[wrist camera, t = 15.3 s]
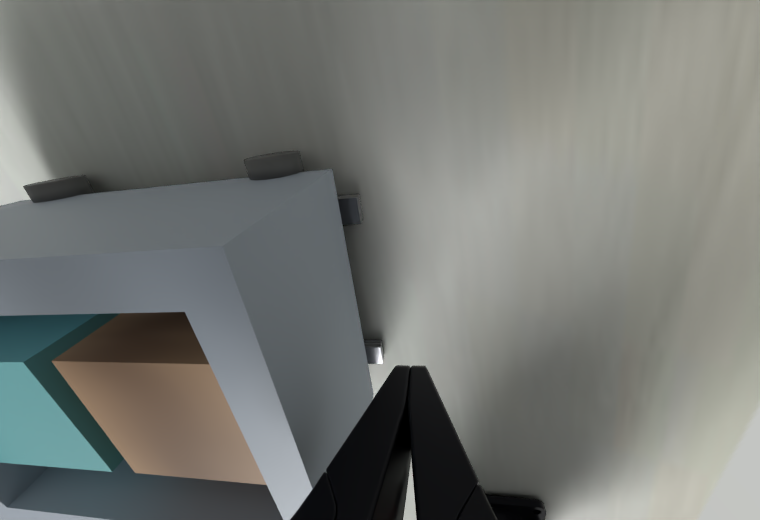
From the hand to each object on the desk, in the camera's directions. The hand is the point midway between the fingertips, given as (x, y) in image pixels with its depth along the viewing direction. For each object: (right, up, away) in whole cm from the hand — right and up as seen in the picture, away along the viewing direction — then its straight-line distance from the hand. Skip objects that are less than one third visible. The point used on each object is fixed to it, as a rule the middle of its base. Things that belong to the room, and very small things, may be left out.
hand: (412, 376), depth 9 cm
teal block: (-11, +1, +4) cm, 12 cm away
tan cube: (-6, +1, +3) cm, 7 cm away
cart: (-8, +2, +6) cm, 10 cm away
